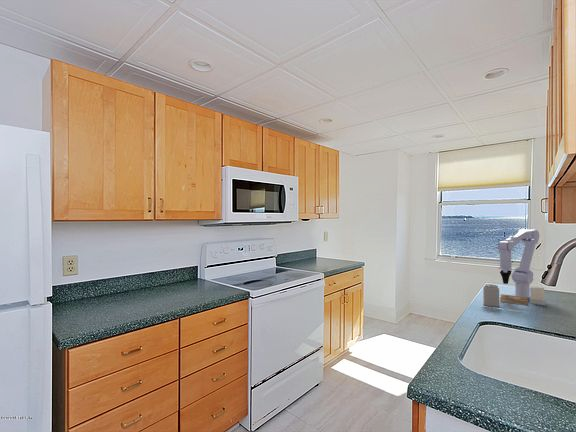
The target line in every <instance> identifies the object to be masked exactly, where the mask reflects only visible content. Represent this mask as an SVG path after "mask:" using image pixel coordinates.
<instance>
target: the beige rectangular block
mask: <svg viewBox="0 0 576 432" xmlns="http://www.w3.org/2000/svg"><path fill="white" fill-rule="evenodd" d="M530 297H531V299H535V300H543V301H544V299H545V288H544V287H539V286H530Z"/></svg>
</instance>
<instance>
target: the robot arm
mask: <svg viewBox="0 0 576 432" xmlns="http://www.w3.org/2000/svg"><path fill="white" fill-rule="evenodd" d="M539 239H540V232H539V230H538V229H522V228H521V229H518V230H517V233H516V234H515V235H509V237H508V238H506V239H504V240H502V241H499V242H497V243H498V244H497V249H498V253H499V266H498V267H497V269H499V270H500V271H499V273H500V276H501V279H502V284H504V285H508V284H509V280H510V276H511V279H512V281H513V282H514V283H515V286H514V287H515V290H514V291H515V293H514V296H521V297H528V299H530V298H531V286H530V285H531V284H532V283H533V281H534V272H533V271H532V270H531V269H530V268H531V267H530V266H531V264H532V259H533V256H534V255H533V254H534V252H535V248H536V245H537V244H538V243H539ZM519 242H521V243H522V244H524V248H523V250H522V251H523V252H522V256H521V259H520V264H519V266H518V267H516V268H514V270H513V268H512V251H513V250H514V248H515V246H517V245H519ZM512 270H513V272H512Z"/></svg>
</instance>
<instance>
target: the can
mask: <svg viewBox="0 0 576 432" xmlns="http://www.w3.org/2000/svg"><path fill="white" fill-rule="evenodd" d="M482 289H483V291H482V292H483V295H482V296H483V305H485V306H486V307H488V308H498V307H500V288H499V287H498V285H497V284H493V283H492V284H489V283H485V284H484V286H483V288H482Z"/></svg>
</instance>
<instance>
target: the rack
mask: <svg viewBox="0 0 576 432" xmlns="http://www.w3.org/2000/svg"><path fill="white" fill-rule="evenodd" d="M507 297H515V298H520V300H517V299H509V298H507ZM528 299H529V298H528V297H521V296H515V295H513V294H512V295H510V294H505V293H504V294H503V293H502V294H500V296H499V303H507V304H516V305H524V306H529V300H528Z"/></svg>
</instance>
